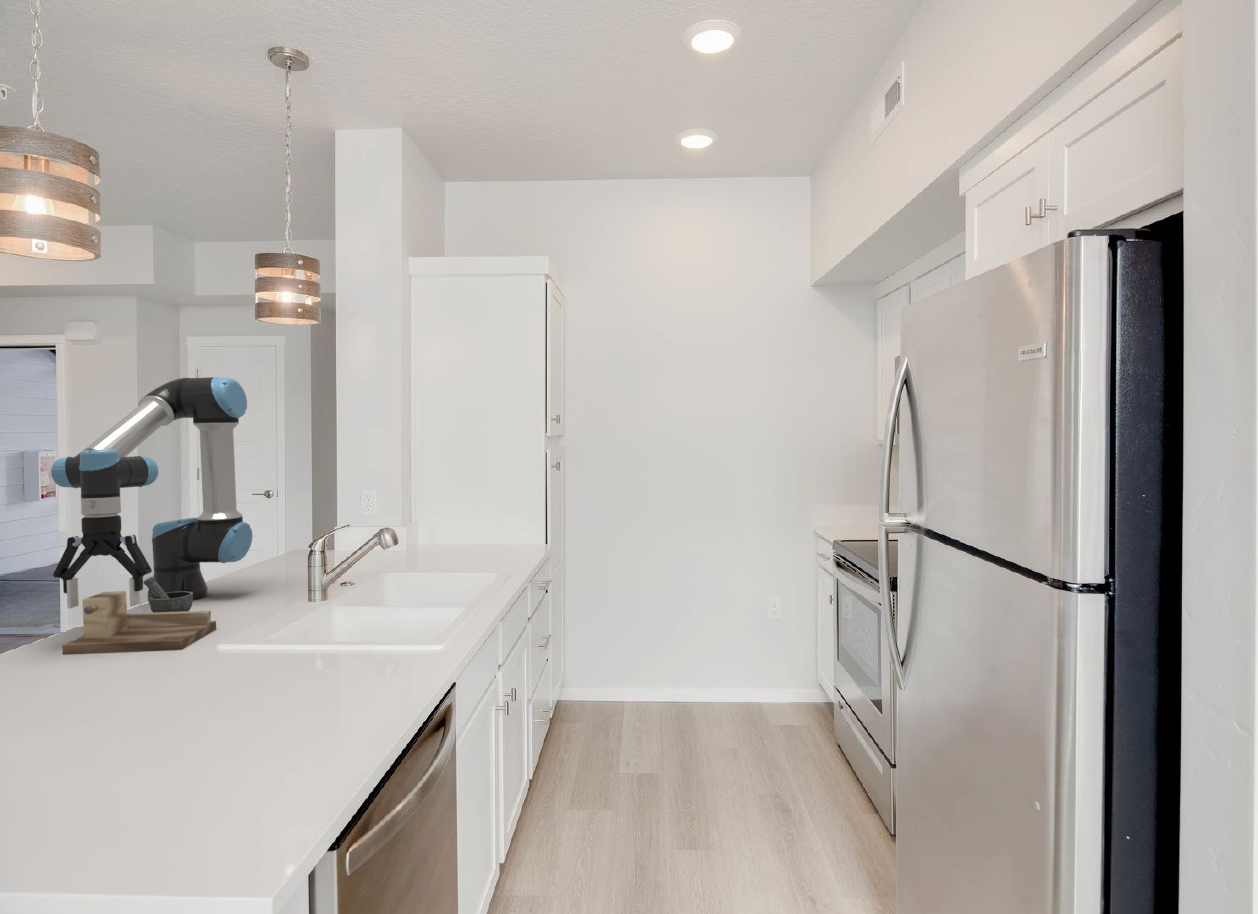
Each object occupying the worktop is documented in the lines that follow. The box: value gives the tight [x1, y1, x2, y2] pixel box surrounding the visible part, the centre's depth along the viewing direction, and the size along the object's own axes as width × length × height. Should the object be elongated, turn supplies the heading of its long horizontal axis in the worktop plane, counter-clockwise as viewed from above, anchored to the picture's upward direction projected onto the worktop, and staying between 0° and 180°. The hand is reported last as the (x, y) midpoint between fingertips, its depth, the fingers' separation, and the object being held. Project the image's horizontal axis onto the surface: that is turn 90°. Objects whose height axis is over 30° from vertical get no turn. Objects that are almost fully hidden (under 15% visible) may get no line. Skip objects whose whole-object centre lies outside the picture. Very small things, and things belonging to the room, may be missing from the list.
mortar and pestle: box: [143, 576, 194, 613], centre depth 190 cm, size 11×9×12 cm
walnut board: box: [62, 610, 217, 655], centre depth 173 cm, size 17×25×5 cm
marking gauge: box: [82, 590, 128, 639], centre depth 172 cm, size 12×5×9 cm, turn 6°
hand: (104, 606), depth 172 cm, fingers open, 13 cm apart
